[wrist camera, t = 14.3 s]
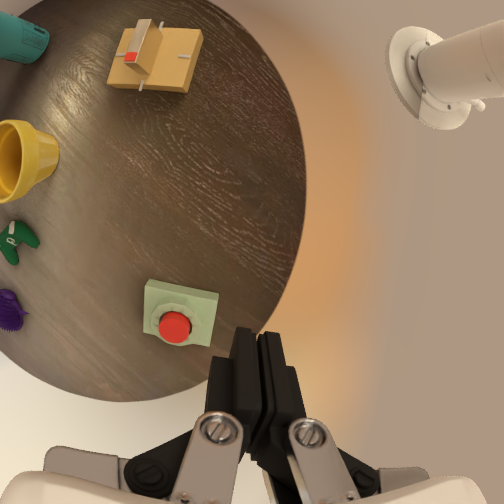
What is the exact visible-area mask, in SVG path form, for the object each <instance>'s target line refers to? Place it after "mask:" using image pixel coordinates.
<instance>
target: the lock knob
mask: <svg viewBox="0 0 504 504" xmlns="http://www.w3.org/2000/svg"><path fill="white" fill-rule="evenodd" d="M162 38H163V35H162V33H161V32H160V31H159V29H158V28H157V26H156V25H155V23H154V22H153V21H152V19H139V21H138V23H137V26H136V28H135V31H134V33H133V36H132V38H131V41H130V44H129V47H128V49H127V52H126V55H125V58H124V61H123V63H124V64H125V65H127V66H128V67H130V68H131V69H132V70H134V71H135V72H137V73H138V74H141V75H150V74H151V71H152V68H153V64H154V61H155V58H156V55H157V52H158V49H159V46H160V43H161V40H162Z"/></svg>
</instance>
